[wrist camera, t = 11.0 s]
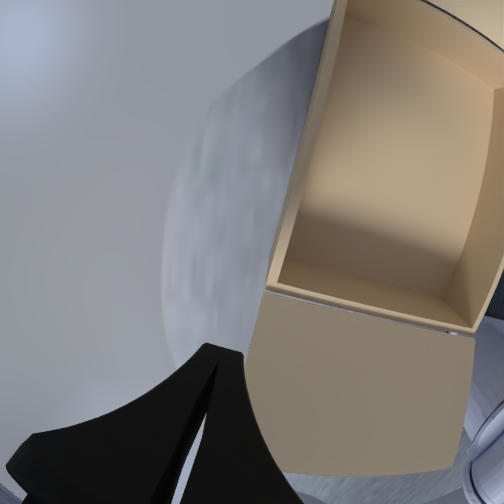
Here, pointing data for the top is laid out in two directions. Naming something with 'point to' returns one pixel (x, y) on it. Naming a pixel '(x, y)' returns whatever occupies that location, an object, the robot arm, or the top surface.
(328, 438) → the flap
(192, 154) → the top surface
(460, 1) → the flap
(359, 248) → the carton
